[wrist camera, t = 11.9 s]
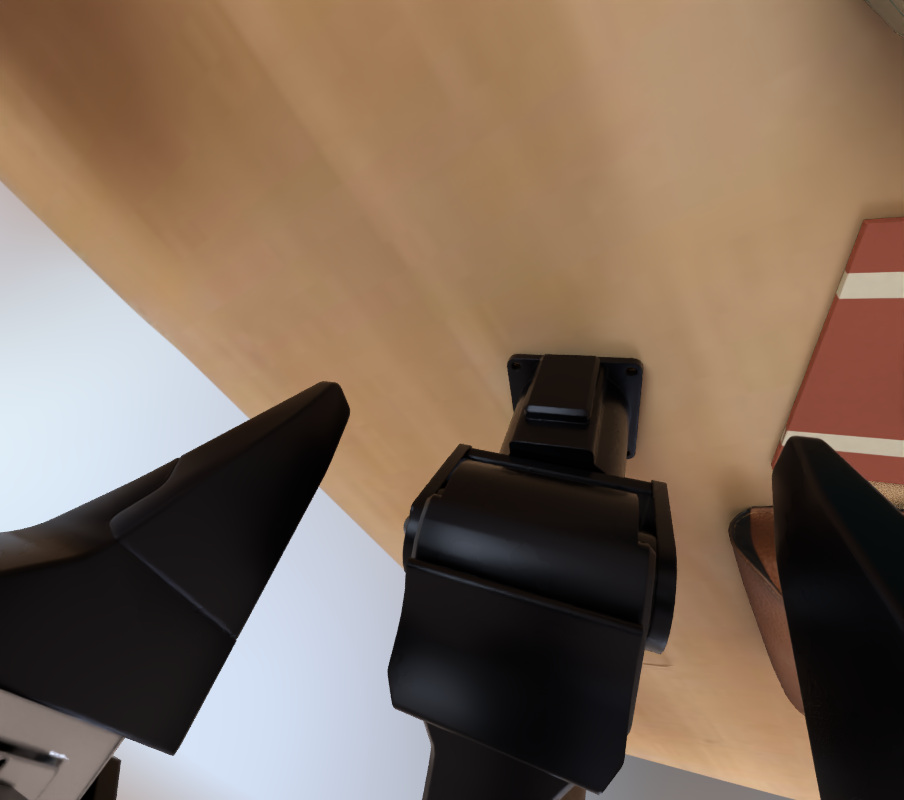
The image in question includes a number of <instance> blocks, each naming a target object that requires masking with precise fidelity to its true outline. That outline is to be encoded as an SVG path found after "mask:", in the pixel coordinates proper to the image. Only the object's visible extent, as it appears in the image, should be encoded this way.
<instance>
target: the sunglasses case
mask: <svg viewBox="0 0 904 800" xmlns="http://www.w3.org/2000/svg"><path fill="white" fill-rule="evenodd" d="M898 510H899V511H900V512H901V513H903V514H904V510H903V509H898ZM729 537H730V541H731V544H732V546H733V550H734V553H735V557H736V561H737V563H738V567H739V571H740V573H741V577H742V580H743V584H744V586H745V589H746V592H747V595H748V598H749V601H750V604H751V606H752V609H753V612H754V615H755V618H756V621H757V624H758V627H759V629H760V632H761V635H762V638H763V641H764V643H765V647H766V649H767V652H768V655H769V657H770V661H771V663H772V665H773V668H774V671H775V673H776V675H777V677H778V679H779V681H780V683H781V687H782V688H783V689H784V692H785V694H786V696H787V697H788V699H789V700H790V702H791V703H792V704H793V705H794V706H795V708H796V709H797V710H798V711H799V712H800V713H802V714H803V715H804V716H805V714H804V708H803V703H802V698H801V692H800V687H799V682H798V677H797V671H796V666H795V661H794V655H793V650H792V645H791V640H790V634H789V629H788V624H787V618H786V613H785V608H784V603H783V597H782V592H781V587H780V581H779V576H778V570H777V564H776V553H775V535H774V514H773V506H768V507H752V508H749V509H747V510H746V511H743V512H741V513H739V514H738V515H737V516H736V517H735V518H734V519H733V521H732V522H731V523H730V526H729Z"/></svg>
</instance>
